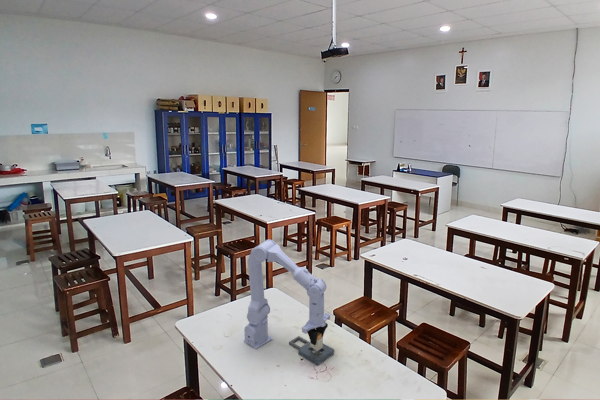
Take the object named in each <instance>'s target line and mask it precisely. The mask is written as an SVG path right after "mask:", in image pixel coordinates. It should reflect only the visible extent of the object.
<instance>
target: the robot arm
mask: <svg viewBox="0 0 600 400" xmlns="http://www.w3.org/2000/svg"><path fill="white" fill-rule="evenodd" d="M265 261H266V262H267V263H273V262H274V263H275V262H276V263H277V264H279V265H280V266H282V267H283V268H284V269H286V270H287V271H288V272H290V273H291V274H292V278H293V280H294V281H295V282H296V283H297V284H299V285H300V286H301V287H303V289H304V290H305V291H306V294H307V296H308V298H309V301H308V306H309V307H308V310H309V312H308V321H307V322H306V323H305V324H304V326H303V327H301V332H302V333H303V334H305V335H308V337H309V342H310V341H311V344H313V345H316V342H317V335H318V332H319V333H321V334H322V337H323V338H324V334H325V332H326V330H327V328H328V325H329V324H328V323H327V321H329V320H330V319H331V314H330V313H327V312H326V313H325V291H326V290H327V284H326V282H325V281H324V280H323V279H322V278H317V277H316V276H314V275H313V274H312V273H310V271H309V270H308V269H307V268H305V267H302V266H298V265H297V264H296V263H295V262H294V261H293V260H292V259H291V258H290V257H289V256H288V255H287V254H286V253H284V251H283V250H282V249H281V246H280V245H279V244H277V242H275V240H273V239H266V240H264V241H263V242H262V243H260V244H258V245H256V246H255V247H254V248H252V249H251V250H250V254H249V256H248V258H247V266H248V267H247V268H248V278H249V280H248V281H249V290H250V300H251V301H250V302H249V305H248V307H247V309H248V310H247V315H246V320H247V322H248V324H247V325H245V327H244V331H243V332H244V339H243V342H244V343H246V344H247V345H249V346H250V347H252V348H254V349H255V350H257V349H258V348H260V347H261V346H263V345H265V344H267V343H268V342H270V341H272V340H273V337H271V336H270V335H269V325H268V324H269V323H268V322H269V321H268V315H269V314H270V313H271V307H270V305H269V301H268V299H267V298H266V297H265V289H264V277H263V275H264V274H263V264H262V263H263V262H265Z"/></svg>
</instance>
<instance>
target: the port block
mask: <svg viewBox="0 0 600 400" xmlns="http://www.w3.org/2000/svg"><path fill="white" fill-rule="evenodd" d="M304 345H305V344H304ZM301 347H302V346H301ZM314 350H315V349H313V348H312V347H310V343H308V344H307V345H305V346H304V347H302V348H301V349H299V350H298V349H297V351H298V355H299V356H300V357H302V358H304V359H305V360H307V361H309V362H311V363H312V364H314V365H316V366H320V365H321V364H322V363H323V362H325V361H326V360H327V359H329V358H330V357H332V356H333V355H334V354H335V349H334V348H332V347H331V346H328V345H327V344H325V343H323V348H321V349H320V350H318V351H317V352H319V354H318V353H315V352H313V351H314Z"/></svg>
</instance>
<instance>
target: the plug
mask: <svg viewBox="0 0 600 400" xmlns="http://www.w3.org/2000/svg"><path fill="white" fill-rule="evenodd" d="M323 338H324V336H323V337H322V334H321V333H319V332H318V335H317V342H316V345H313V344H311V341H310V340H309V342H310V347H312V348H313V349H314V350H315V351H317V352H319V351H318V350H320V349H321V348H323V344H324V343H323V342H324V339H323Z"/></svg>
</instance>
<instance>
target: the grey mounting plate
mask: <svg viewBox="0 0 600 400" xmlns="http://www.w3.org/2000/svg"><path fill="white" fill-rule="evenodd" d="M298 341H300V342H301V343H303V345H301V346H300V345H298V344H296V342H298ZM308 343H310V340H307V339H306V338H303V337H301V336H299V335H298V336H296V337H293V338H292V339H291V340H290V341H289V342H288V345H289V346H291V347H293V348H295V349H296V350H297V351H298V350H299V349H301V348H302V347H304V346H305V345H307V344H308Z"/></svg>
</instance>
